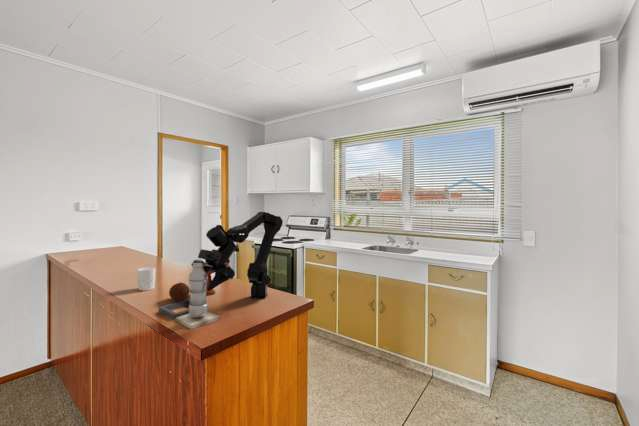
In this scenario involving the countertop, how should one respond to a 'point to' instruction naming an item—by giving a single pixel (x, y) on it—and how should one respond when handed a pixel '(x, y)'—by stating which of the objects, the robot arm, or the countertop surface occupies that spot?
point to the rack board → (196, 320)
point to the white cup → (146, 278)
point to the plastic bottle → (198, 291)
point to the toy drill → (209, 283)
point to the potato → (179, 292)
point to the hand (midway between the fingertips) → (199, 288)
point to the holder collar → (167, 308)
